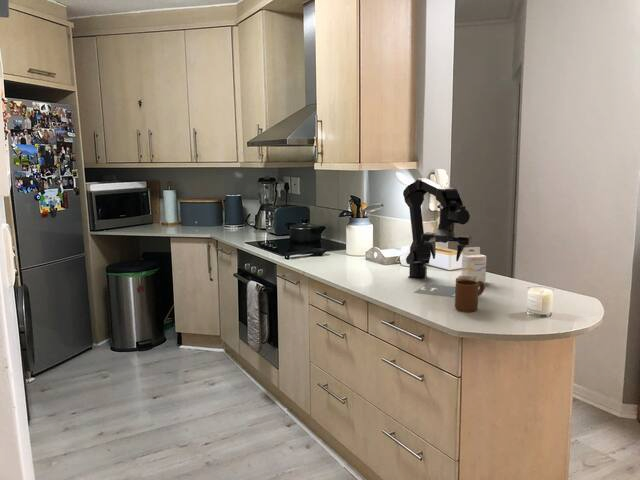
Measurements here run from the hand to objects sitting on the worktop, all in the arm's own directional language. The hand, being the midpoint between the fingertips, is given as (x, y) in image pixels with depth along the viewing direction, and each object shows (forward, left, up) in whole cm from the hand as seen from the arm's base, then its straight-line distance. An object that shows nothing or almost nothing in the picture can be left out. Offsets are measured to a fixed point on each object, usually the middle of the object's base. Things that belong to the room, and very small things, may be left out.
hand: (445, 260), depth 207 cm
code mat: (+3, -5, -11) cm, 13 cm away
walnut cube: (+10, -5, -11) cm, 15 cm away
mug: (+16, -23, -12) cm, 30 cm away
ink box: (+8, +13, -12) cm, 19 cm away
